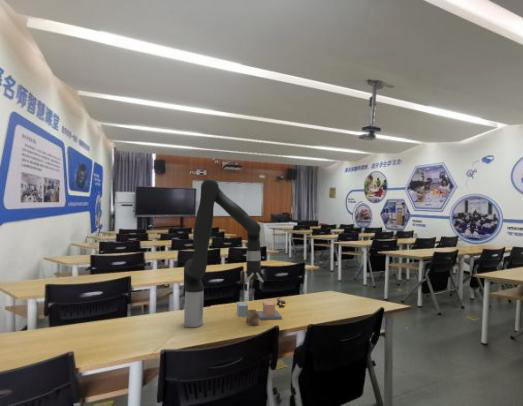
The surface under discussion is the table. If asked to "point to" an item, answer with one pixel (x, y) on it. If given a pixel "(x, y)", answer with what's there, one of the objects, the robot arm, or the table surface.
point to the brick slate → (242, 308)
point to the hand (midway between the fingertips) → (253, 290)
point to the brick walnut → (252, 317)
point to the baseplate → (262, 317)
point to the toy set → (280, 302)
